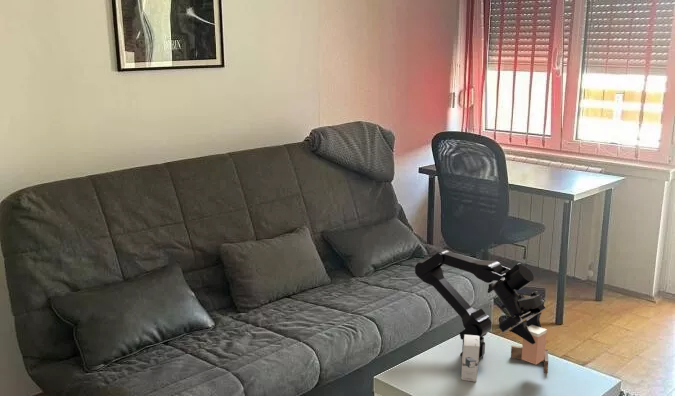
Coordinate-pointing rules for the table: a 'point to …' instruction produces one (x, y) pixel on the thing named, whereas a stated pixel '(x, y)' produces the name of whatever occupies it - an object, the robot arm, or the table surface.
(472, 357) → the ink box
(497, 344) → the table surface
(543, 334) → the pink tall block
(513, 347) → the walnut corner walls
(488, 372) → the table surface
